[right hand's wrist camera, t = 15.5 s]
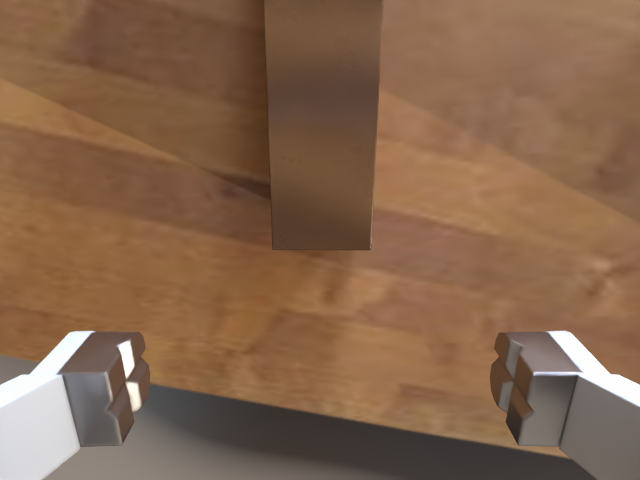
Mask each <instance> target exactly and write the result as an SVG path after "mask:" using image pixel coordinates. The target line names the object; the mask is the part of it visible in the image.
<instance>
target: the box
mask: <svg viewBox="0 0 640 480" xmlns="http://www.w3.org/2000/svg"><path fill="white" fill-rule="evenodd" d="M263 6H264V33H265V60H266V87H267V115H268V142H269V169H270V196H271V223H272V249H273V250H371V241H372V220H373V200H374V180H375V160H376V140H377V120H378V100H379V80H380V60H381V40H382V20H383V0H263Z"/></svg>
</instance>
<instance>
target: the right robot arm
mask: <svg viewBox="0 0 640 480" xmlns="http://www.w3.org/2000/svg"><path fill="white" fill-rule="evenodd" d="M145 349H146V347H145V343H144V338H143V335H142V334H141V333H140V332H111V331H96V332H95V331H74V332H70V333H69V334H68V335H67V336H66V337H65V338H64V339H63V340H62V341H61V342H60V343H59V344H58V345H57V346H56V347H55V348H54V349H53V350H52V351H51V352H50V353H49V354H48V356H47V357H46V358H45V359H44V360H43V361H42V362H41V363H40V364H39V365H38V366H37V367H36V368H35V369H34V370H33V371H32V372H31V373H30V374H29V375H20V376H18V377H16V378H14V379H12V380H10V381H7V382H5V383H3V384H1V385H0V480H43V479H44V478H45V477H46V476H48V475H49V474H50V473H51V472H53V471H54V470H55V469H56V468H58V467H59V466H60V465H61V464H63V463H64V462H65V461H66V460H67V459H69V458H70V457H71V456H72V455H74V454H75V453H76V452H77V451H79V450H80V447H90V446H121V445H122V444H123V442H124V440H125V438H126V436H127V434H128V433H129V431H130V429H131V427H132V425H133V423H134V418H133V413H134V412H135V411H137V410H138V409H139V408H141V407H142V406H143V404H144V402H145V400H146V398H147V394H148V390H149V385H150V372H149V365H148V364H147V363H146V362H145V361H144V360H143V359H142V358H141V355H142V354H143V352H144V350H145ZM494 349H495V350H496V352H497V354H498V355H499V358H498V359H497V360H496V361H495V362H494V363H493V364H492V365H491V373H490V384H491V391H492V394H493V398H494V400H495V402H496V404H497V406H498V407H499V408H500V409H502V410H503V411H505V412H506V413H507V418H506V423H507V425H508V427H509V429H510V431H511V433H512V434H513V436H514V438H515V440H516V442H517V444H518V446H549V447H560V448H559V449H560V450H562V451H563V452H564V453H565V454H566V455H568V456H569V457H570V458H571V459H573V460H574V461H575V462H576V463H578V464H579V465H580V466H581V467H583V468H584V469H585V470H586V471H587V472H589V473H590V474H591V475H592V476H594V477H595V478H596V479H597V480H640V385H639V384H637V383H635V382H632V381H630V380H628V379H626V378H624V377H622V376H620V375H611V374H610V373H609V372H608V371H607V370H606V369H605V368H604V367H603V366H602V365H601V364H600V363H599V362H598V361H597V360H596V359H595V358H594V357H593V355H592V354H591V353H590V352H589V351H588V350H587V349H586V348H585V347H584V346H583V345H582V344H581V343H580V342H579V341H578V340H577V339H576V338H575V337H574V336H573V334H572V333H570V332H567V331H545V332H512V333H499V334H498V336H497V338H496V342H495V347H494Z"/></svg>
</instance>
